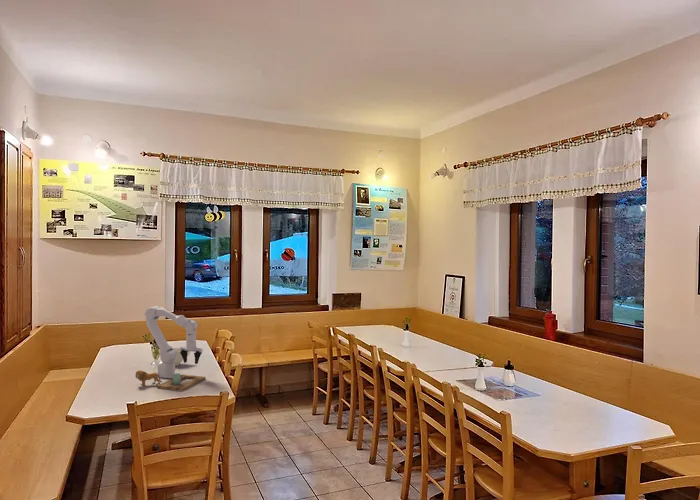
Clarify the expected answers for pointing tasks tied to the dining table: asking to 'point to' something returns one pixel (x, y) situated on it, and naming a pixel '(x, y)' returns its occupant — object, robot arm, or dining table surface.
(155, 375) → the lion figurine
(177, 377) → the teal peg
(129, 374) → the dining table surface
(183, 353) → the robot arm
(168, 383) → the brown wooden frame
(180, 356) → the teacup
